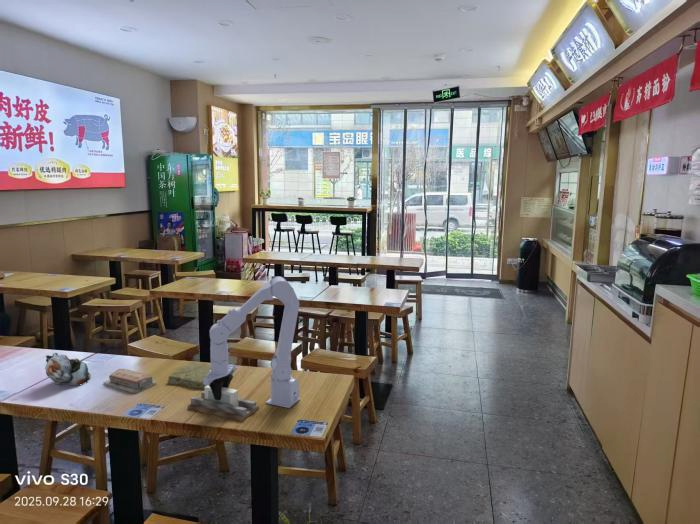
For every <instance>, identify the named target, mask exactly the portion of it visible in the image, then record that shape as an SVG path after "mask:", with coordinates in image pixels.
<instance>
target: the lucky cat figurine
mask: <svg viewBox="0 0 700 524" xmlns="http://www.w3.org/2000/svg"><path fill="white" fill-rule="evenodd" d="M68 357H69V356H67V354H58V353H57V352H54V353H53V352H52V355H45V358H46V359H45V361H46V364H45V368H44V369H45V373H46V376H47V377H48V378H49V379H50V380H51V381H52V382H53V384H54V385H72V386H81V385H80V384H82V385H83V383H84V384H85V382H86V383H87V382H88V381H90V380H91V379H92V377H91V373H90V372H89V368H88V366H87V363H85V362H84V361H82V360H81V359H79V358H71V359H70V358H68Z"/></svg>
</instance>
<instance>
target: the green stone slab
mask: <svg viewBox="0 0 700 524" xmlns="http://www.w3.org/2000/svg"><path fill="white" fill-rule="evenodd" d="M209 370H211V363H208V362H207V363H205V362H204V363H203V362H196V361H191V362H188V363H187V364H184V365H182V366H181V367H179V368H178V369H176V370H175V371H174V372H171V374H170V375H168V380H167V383H168V385H169V384H170V385H180V386H187V387H189V388H196V389H197V388H199V389H204V387H205V386H207V385H204V384H203V379H204V378H205V377H207V375H208V374H209ZM234 372H235V371H231V372H230V373H229V374H232V375H233V374H234Z"/></svg>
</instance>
